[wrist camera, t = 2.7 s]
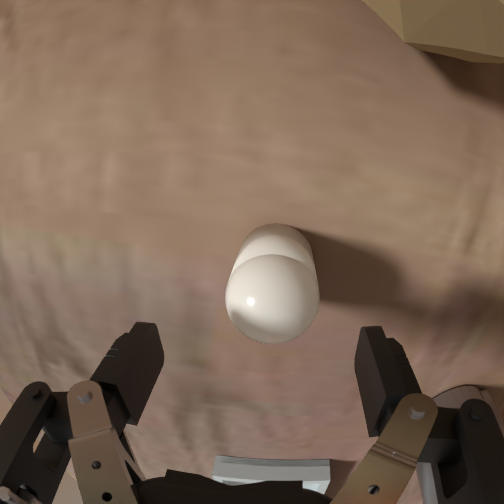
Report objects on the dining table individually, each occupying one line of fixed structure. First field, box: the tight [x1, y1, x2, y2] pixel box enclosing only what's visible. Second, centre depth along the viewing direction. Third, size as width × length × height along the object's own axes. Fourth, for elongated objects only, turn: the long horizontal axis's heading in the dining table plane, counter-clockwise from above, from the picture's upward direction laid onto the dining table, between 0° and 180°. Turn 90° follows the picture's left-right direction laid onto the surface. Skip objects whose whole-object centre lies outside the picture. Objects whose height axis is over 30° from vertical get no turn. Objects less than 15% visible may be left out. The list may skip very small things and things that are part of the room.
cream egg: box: [225, 223, 320, 344], centre depth 16 cm, size 5×5×7 cm
